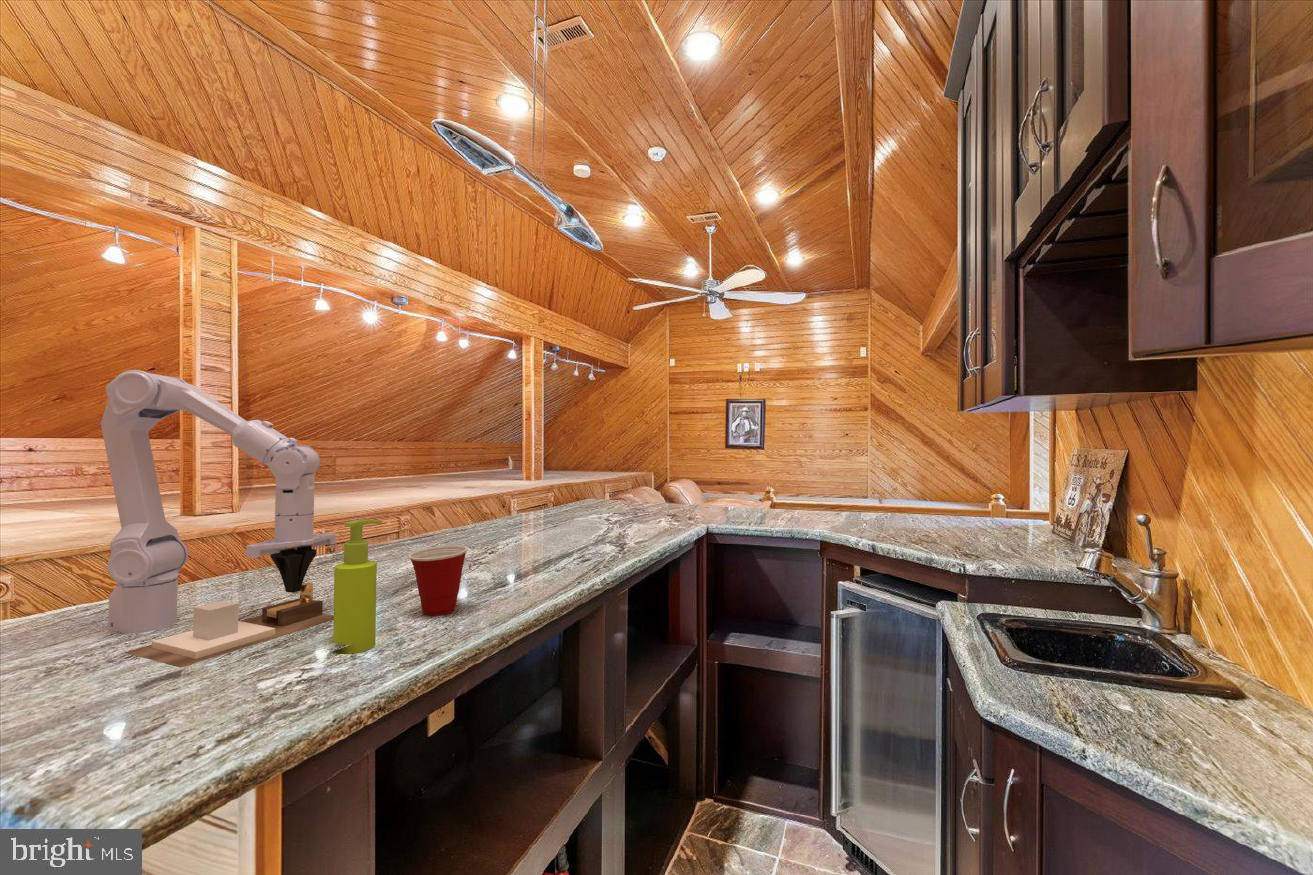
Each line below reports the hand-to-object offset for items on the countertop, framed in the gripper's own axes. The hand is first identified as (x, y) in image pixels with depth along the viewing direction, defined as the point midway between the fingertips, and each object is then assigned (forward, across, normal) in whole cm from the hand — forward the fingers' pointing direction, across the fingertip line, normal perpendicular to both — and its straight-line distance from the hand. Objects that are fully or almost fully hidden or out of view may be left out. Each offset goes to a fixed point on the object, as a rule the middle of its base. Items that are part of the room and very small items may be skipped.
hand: (293, 591), depth 95 cm
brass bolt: (+4, 0, 0) cm, 4 cm away
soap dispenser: (+6, -2, -19) cm, 20 cm away
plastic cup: (+6, +17, -17) cm, 25 cm away
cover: (+5, -12, 0) cm, 13 cm away
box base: (+6, -8, 0) cm, 10 cm away
